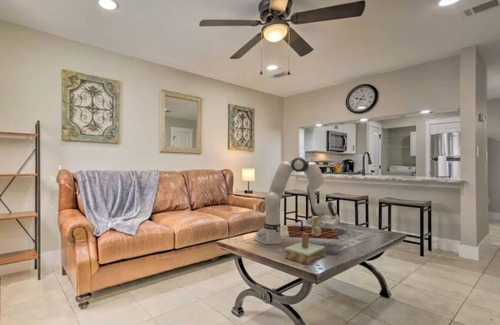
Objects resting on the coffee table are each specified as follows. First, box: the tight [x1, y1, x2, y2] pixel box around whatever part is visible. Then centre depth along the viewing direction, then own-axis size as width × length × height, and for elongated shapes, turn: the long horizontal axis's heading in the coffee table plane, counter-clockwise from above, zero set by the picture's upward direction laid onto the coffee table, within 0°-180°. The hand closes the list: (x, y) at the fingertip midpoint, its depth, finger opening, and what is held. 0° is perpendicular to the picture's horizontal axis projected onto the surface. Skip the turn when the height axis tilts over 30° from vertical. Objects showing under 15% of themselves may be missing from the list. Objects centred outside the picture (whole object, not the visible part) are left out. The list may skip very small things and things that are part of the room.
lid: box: [284, 233, 326, 256], centre depth 174 cm, size 17×21×10 cm
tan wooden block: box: [311, 215, 321, 236], centre depth 184 cm, size 4×4×12 cm
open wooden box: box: [285, 249, 325, 265], centre depth 174 cm, size 16×20×5 cm
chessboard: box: [287, 221, 340, 240], centre depth 239 cm, size 40×40×11 cm
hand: (315, 225), depth 183 cm, fingers closed on tan wooden block, 4 cm apart
